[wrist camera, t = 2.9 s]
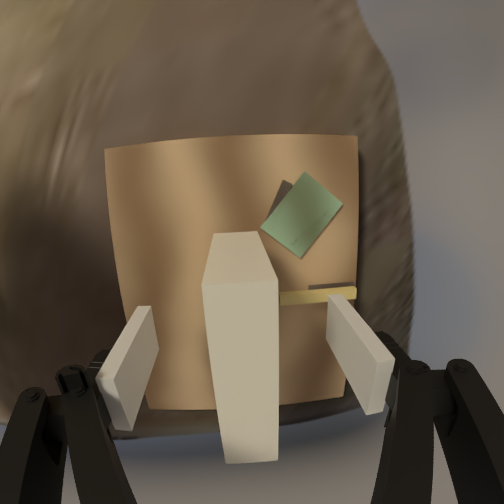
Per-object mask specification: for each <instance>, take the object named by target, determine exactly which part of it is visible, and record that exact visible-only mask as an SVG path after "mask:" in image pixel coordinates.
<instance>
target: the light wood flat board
mask: <svg viewBox="0 0 504 504" xmlns="http://www.w3.org/2000/svg"><path fill="white" fill-rule="evenodd" d="M104 151H105V170H106V184H107V196H108V207H109V216H110V225H111V234H112V241H113V248H114V255H115V262H116V268H117V275H118V280H119V286H120V292H121V297H122V302H123V307H124V312H125V317H126V322H127V323H128V321H129V320H130V318H131V316H132V315H133V313H134V311H135V310H136V308H137V307H138V306H151V308H152V314H153V319H154V325H155V330H156V335H157V341H158V346H159V351H158V354H157V357H156V360H155V363H154V366H153V369H152V372H151V374H150V377H149V380H148V383H147V386H146V389H145V392H144V393H145V396H146V400H147V403H148V406H149V409H165V410H207V409H217V407H216V400H215V393H214V386H213V379H212V372H211V364H210V356H209V349H208V340H207V332H206V324H205V315H204V306H203V296H202V286H201V284H202V280H203V276H204V271H205V267H206V263H207V259H208V255H209V251H210V246H211V242H212V238H213V234H214V233H231V232H249V231H257V232H258V234H259V237H260V239H261V241H262V244H263V246H264V248H265V251H266V253H267V255H268V258H269V260H270V262H271V265H272V267H273V269H274V272H275V274H276V276H277V279H278V303H279V292H290V291H303V290H315V289H327V288H338V287H349V286H356V270H357V250H358V217H359V170H358V138H357V136H345V135H314V134H271V135H239V136H220V137H205V138H192V139H181V140H170V141H161V142H152V143H144V144H136V145H129V146H122V147H115V148H109V149H104ZM347 301H348V302H349V303H350V304H351V306H352V307H353V308H354V299H349V300H347ZM327 310H328V302H319V303H307V304H296V305H283V306H280V303H279V405H284V404H293V403H301V402H309V401H316V400H323V399H330V398H336V397H342V396H343V394H344V387H345V380H346V376H345V374H344V372H343V370H342V368H341V366H340V365H339V363H338V361H337V359H336V357H335V355H334V353H333V352H332V350H331V348H330V346H329V344H328V342H327V340H326V327H327Z"/></svg>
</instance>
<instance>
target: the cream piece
mask: <svg viewBox="0 0 504 504" xmlns="http://www.w3.org/2000/svg"><path fill="white" fill-rule="evenodd" d="M201 286H202V296H203V306H204V315H205V324H206V332H207V340H208V349H209V356H210V364H211V372H212V379H213V386H214V393H215V400H216V407H217V413H218V420H219V426H220V432H221V438H222V444H223V450H224V456H225V461H226V464H236V463H252V462H265V461H276V460H278V428H279V303H280V306H283V305H296V304H307V303H319V302H328V295H334V294H342V295H343V296H344V297H345V299H346V300H349V299H356V293H357V288H356V287H355V286H349V287H338V288H327V289H315V290H303V291H290V292H279V303H278V279H277V276H276V274H275V272H274V269H273V267H272V265H271V262H270V260H269V258H268V255H267V253H266V251H265V248H264V246H263V244H262V241H261V239H260V237H259V234H258V232H257V231H249V232H231V233H214V234H213V238H212V242H211V246H210V251H209V255H208V259H207V263H206V267H205V271H204V276H203V280H202V284H201Z"/></svg>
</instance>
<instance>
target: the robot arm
mask: <svg viewBox="0 0 504 504" xmlns="http://www.w3.org/2000/svg"><path fill="white" fill-rule="evenodd" d="M326 340H327V342H328V344H329V346H330V348H331V350H332V352H333V353H334V355H335V357H336V359H337V361H338V363H339V365H340V366H341V368H342V370H343V372H344V374H345V376H346V378H347V380H348V382H349V383H350V385H351V387H352V389H353V391H354V393H355V395H356V397H357V399H358V401H359V402H360V404H361V406H362V408H363V410H364V412H365V414H366V415H370V414H374V413H379V412H382V411H383V409H384V404H385V401H386V403H387V404H388V406H389V411H388V415H387V418H386V422H385V425H384V427H386V429H385V435H384V442H383V448H382V453H381V458H380V464H379V469H378V473H377V478H376V483H375V487H374V492H373V496H372V500H371V504H431V493H432V480H433V452H434V449H433V448H434V424H435V427H436V430H437V433H438V436H439V439H440V442H441V445H442V448H443V451H444V455H445V458H446V461H447V465H448V468H449V471H450V475H451V478H452V482H453V485H454V489H455V493H456V497H457V500H458V504H504V414H503V413H502V411H501V409H500V407H499V406H498V404H497V402H496V400H495V399H494V397H493V396H492V394H491V392H490V390H489V389H488V387H487V386H486V384H485V382H484V381H483V379H482V378H481V376H480V375H479V373H478V371H477V370H476V368H475V367H474V365H473V364H472V363H471V362H469V361H467V360H464V359H453V360H451V361H449V362H448V364H447V367H446V370H430V368H429V366H428V365H427V364H426V363H424V362H422V361H417V360H411V359H410V357H409V356H408V355H407V354H406V353H405V352H404V351H403V349H402V348H401V347H399V345H398V344H397V343H395V340H394V339H393V338H392V337H391V336H390V335H388V334H386V333H384V332H383V331H380V332H373V331H372V330H371V328H370V327H369V326H368V325H367V324H366V322H365V321H364V320H363V319H362V318H361V316H360V315H359V314H358V313H357V312H356V310H355V309H354V308H353V307H352V306H351V304H350V303H349V302H348V301H347V300H346V299H345V297H344V296H343V295H342V294H334V295H328V310H327V327H326ZM158 351H159V346H158V341H157V335H156V330H155V325H154V319H153V314H152V308H151V306H138V307H137V308H136V310H135V311H134V313H133V315H132V316H131V318H130V320H129V321H128V323H127V324H126V326H125V328H124V329H123V331H122V333H121V334H120V336H119V338H118V340H117V341H116V343H115V345H114V346H113V348H112V350H105V349H103V350H102V351H101V352H99V353H98V354H97V355H96V356H95V357H94V359H93V361H92V363H91V364H90V365H89V368H88V369H87V370H85V368H84V367H82V366H78V365H71V366H67V367H64V368H62V369H61V370H59V371H58V372H57V374H56V376H55V379H56V381H57V383H58V386H59V388H60V391H61V393H62V395H57V396H48V397H47V395H46V393H45V391H44V389H42V388H39V387H32V388H29V389H26V390H25V391H23V392H22V393H21V394H20V396H19V398H18V400H17V402H16V405H15V407H14V410H13V412H12V415H11V418H10V420H9V423H8V425H7V428H6V431H5V434H4V437H3V439H2V442H1V445H0V504H61V497H62V486H63V477H64V467H65V461H66V453H67V446H68V447H69V452H70V458H71V463H72V469H73V474H74V479H75V483H76V487H77V492H78V496H79V500H80V504H137V502H136V500H135V497H134V495H133V493H132V490H131V488H130V485H129V483H128V480H127V478H126V475H125V473H124V470H123V467H122V465H121V462H120V459H119V456H118V453H117V450H116V447H115V444H114V441H113V438H112V435H111V432H110V430H109V428H108V427H109V424H110V422H111V421H112V424H113V426H114V428H115V430H124V431H132V430H133V427H134V423H135V420H136V417H137V414H138V411H139V408H140V405H141V401H142V398H143V395H144V392H145V389H146V386H147V383H148V380H149V377H150V374H151V372H152V369H153V366H154V363H155V360H156V357H157V354H158ZM433 422H434V423H433Z"/></svg>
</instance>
